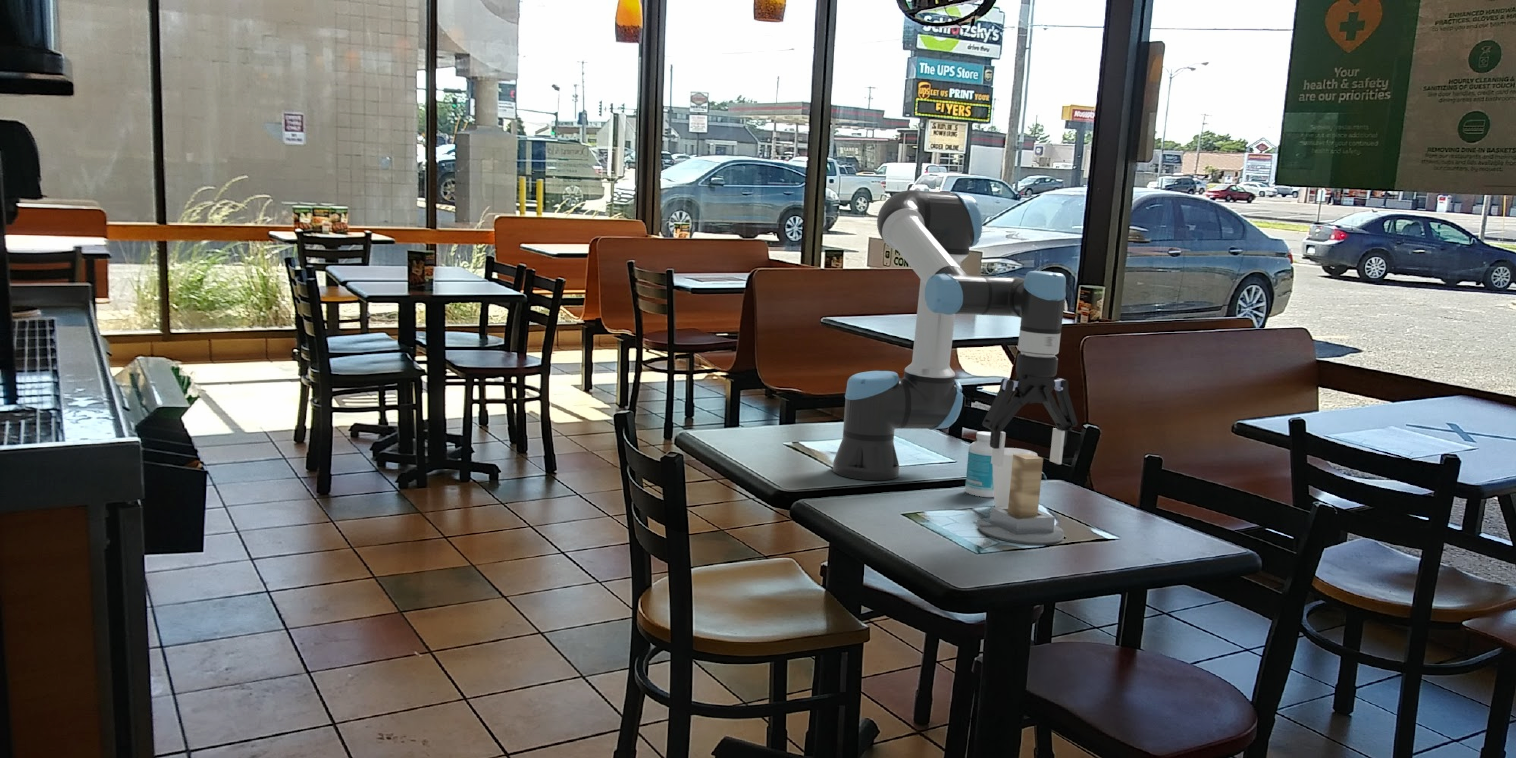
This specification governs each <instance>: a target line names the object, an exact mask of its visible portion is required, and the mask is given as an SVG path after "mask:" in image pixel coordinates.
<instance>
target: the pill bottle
mask: <svg viewBox="0 0 1516 758" xmlns="http://www.w3.org/2000/svg"><path fill="white" fill-rule="evenodd" d="M975 435H976V436H975V437H976V441H973V442H972V443H970V444H969V447H968V455H967V465H966V476H965V485H964V486H965V487H964V489H965V492H966V494H968V493H969V495H971V496H974V495H975V497H979V496H980V498H994V486H993V464H991V457H992V447H990V436H991V431H977V432H976V434H975Z"/></svg>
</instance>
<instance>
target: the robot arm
mask: <svg viewBox="0 0 1516 758" xmlns="http://www.w3.org/2000/svg"><path fill="white" fill-rule="evenodd" d="M981 212H982V211H981V209H980V206H979V204H978V202H977V200H975V198H974V197H973V196H971V195H968V194H967V193H966V194H963V193H959V192H953V191H952V192H950V191H949V192H947V191H944V192H943V191H929V190H927V191H925V190H915V189H913V190H912V189H909V190H908V189H907V190H902V191H899V192H897V193H895V194H893V195H892V196H890V197H889V198H888V199H887V200H885V202H884V203H883V204H882V205H881V207H880V209H879V211H878V214H877V218H876V227H877V228H876V229H877V230H878V235H880V238H881V239H882V241H883V242H884V243H885V244H886V246H887V247H889V248H890V249H892V250H895V251H897V252H898V253H899V254H900V255H901V257H902V258H903V259H904V260H905V262H906V263H907V264H908V266H910V268H911V269H912V270H913V272H914V273H915V274H916V275H917V276H918V278H919V279H920V281H919V283H920V284H919V289H918V302H917V310H916V321H915V329H914V339H913V348H912V349H913V350H912V358H911V359H912V361H911V363H910V364H908V365H907V366H906V367H905V368H904V372H903V373H904V374H903V377H901V378H900V377H899V374H898V373H897V372H896V371H890V370H871V371H863V372H858V373H854V374H853V375H851V376H849V378H848V379H847V382H846V389H845V394H844V398H845V402H844V414H843V416H844V417H843V428H842V429H843V430H842V431H843V432H842V439H841V442H840V443H839V446H838V449H837V452H836V454H835V456H834V459H833V462H832V472H833V473H835V474H836V475H838V476H841V477H845V478H850V479H855V480H862V481H889V480H893V479H894V480H895V479H896V478H898V477H899V474H900V473H899V472H900V464H899V459H898V456H897V452H896V448H895V443H894V442H895V441H894V440H895V430H896V429H897V430H899V429H900V430H902V429H904V430H905V429H909V430H910V429H914V430H917V429H918V430H922V429H924V430H930V431H931V430H932V431H933V430H936V429H938V430H939V429H947V428H949V427H952V425H953V424H954V423H955V422H956V421H957V419H958V418H959V416H960V413H961V411H962V407H963V400H964V394H963V393H962V391H963V387H962V384H961V383H960V381H959V380H957V379H956V372H955V371H954V370H953V368H951V366H950V365H951V356H952V355H951V354H952V346H953V337H954V329H955V318H956V315H971V316H972V315H973V316H977V315H978V316H993V317H994V316H997V317H999V316H1000V317H1014V318H1015V317H1016V318H1020V326H1019V334H1018V341H1017V350H1018V351H1019V353H1018V354H1017V355H1016V364H1015V371H1016V377H1015V380H1011V379H1008V378H1005V377H1004V378H1002V379H1001V381H1000V386H999V390H998V391H997V393H996V396H995V397H994V400H993V402H992V403H991V405H990V407H989V409H988V411H987V413H986V414H985V416H984V418H983V421H982V424H981V426H983V427H984V428H986V429H988V430H990V432H991V436H990V447H992V457H991V464H994V465H996V466H998V467H1002V466H1003V456H1004V448H1005V444H1006V434H1007V433H1006V432H1005V431H1003V430H1004V429H1005V428H1006V427H1007V426H1008V424H1009V423H1010V421H1011V420H1013V418H1014V417H1015V416H1016V415H1017V413H1018V412H1019V410H1020V409H1022V407H1024V406H1026V404H1029V405H1030V404H1042V405H1043V406H1044V408H1045V409H1046V411H1047V412H1048V414H1049V415H1050V417H1051V419H1052V420H1053V422H1054V424H1055V425H1056V427H1057V428H1056V427H1055V428H1054V427H1053V428H1052V435H1051V444H1050V446H1051V447H1050V454H1049V462H1052V463H1054V464H1056V465H1062V463H1063V453H1064V447H1066V445H1067V440H1068V432H1071V431H1072V430H1073V427H1074V428H1076V427H1077V426H1078V424H1079V423H1078V418H1077V416H1076V413H1075V409H1074V406H1073V403H1072V400H1071V396H1070V394H1069V381H1068V379H1064V378H1060V377H1057V378H1056V379H1055V377H1056V375H1057V372H1058V363H1059V358H1058V357H1057V356H1056V355H1058V354H1059V352H1060V343H1061V335H1062V326H1063V318H1064V312H1065V311H1064V310H1065V309H1064V308H1065V304H1066V303H1065V301H1066V297H1067V295H1066V294H1067V293H1066V286H1067V285H1066V284H1067V283H1066V282H1067V279H1066V276H1065V275H1064V273H1060V272H1052V271H1045V270H1043V271H1042V270H1030V271H1028V272H1027V273H1026V274H1025V278H1022V277H1020V276H1016V275H1014V276H1013V275H1012V276H1011V275H1005V276H987V275H986V276H985V275H970V274H967V273H966V271H964V270H963V269H962V267H961V263H962V262H963V261H964V260H965V259H966V258H967V257H969V254H970V248H973V247H974V246H975V247H976V246H977V244H978V243H979V242H980V238H981V236H982V232H983V218H982V213H981ZM1053 390H1055V395H1056V399H1057V400H1056V399H1055V397H1054V395H1053V393H1052V392H1053ZM1009 400H1010V401H1009ZM1056 402H1058V404H1057V403H1056ZM1058 405H1059V406H1058Z"/></svg>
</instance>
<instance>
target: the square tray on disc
mask: <svg viewBox="0 0 1516 758" xmlns="http://www.w3.org/2000/svg"><path fill="white" fill-rule="evenodd" d="M1055 519H1056V516H1053V515H1052V514H1048V513H1046V512H1044V511H1042V510H1039V509H1038V516H1026V517H1018V516H1016V515H1014V514H1012V513H1010V512H1008V507H995V506H993V507H992V506H991V507H990V516H987V517H984V518H982V519H981V520H979V521H978V530H979V531H980V532H981V533H982V534H984V535H985V536H988V537H990V538H992V539H997V540H1000V541H1003V542H1009V543H1013V544H1021V545H1035V546H1036V545H1037V546H1038V545H1039V546H1041V545H1042V546H1043V545H1052V544H1057V543H1060V542H1062V541H1063V540H1064V537H1065V531H1064V530H1063V529H1062V528H1061V527H1060V526H1059V525H1056V524H1055Z"/></svg>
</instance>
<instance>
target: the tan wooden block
mask: <svg viewBox="0 0 1516 758" xmlns="http://www.w3.org/2000/svg"><path fill="white" fill-rule="evenodd" d="M1043 462H1044V458H1043V457H1041V456H1038V455H1037V456H1035V455H1033V454H1013V462H1012V472H1011V483H1010V494H1009V504H1008V512H1010V513H1012V514H1014V515H1016V516H1018V517H1026V516H1038V510H1039V504H1040V495H1041V494H1040V493H1041V485H1042V484H1041V483H1042V475H1043V474H1042V473H1043V464H1044V463H1043Z"/></svg>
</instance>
